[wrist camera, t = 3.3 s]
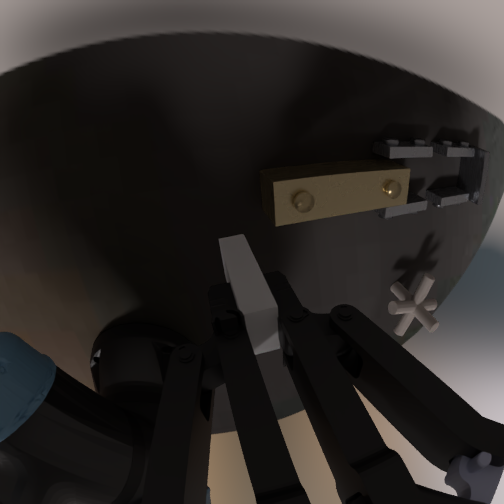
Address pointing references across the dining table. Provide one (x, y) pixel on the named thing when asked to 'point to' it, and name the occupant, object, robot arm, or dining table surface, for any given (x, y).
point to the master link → (331, 189)
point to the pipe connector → (414, 305)
